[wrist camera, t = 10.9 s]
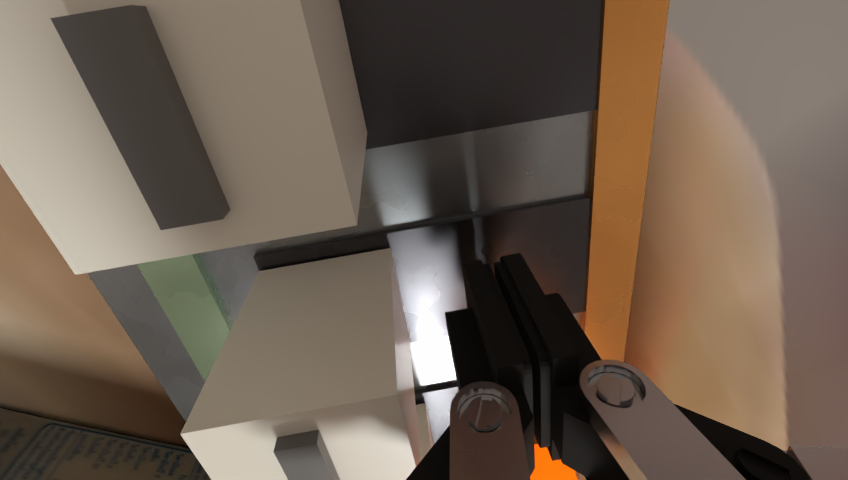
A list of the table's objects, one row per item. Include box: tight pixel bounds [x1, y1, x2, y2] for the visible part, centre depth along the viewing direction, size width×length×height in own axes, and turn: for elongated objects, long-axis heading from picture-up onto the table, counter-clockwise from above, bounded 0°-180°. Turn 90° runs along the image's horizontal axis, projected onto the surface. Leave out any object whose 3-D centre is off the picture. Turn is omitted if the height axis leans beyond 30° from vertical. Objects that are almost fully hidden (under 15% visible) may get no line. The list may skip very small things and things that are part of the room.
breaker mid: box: [180, 248, 421, 480], centre depth 10 cm, size 4×4×6 cm
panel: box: [88, 0, 670, 444], centre depth 14 cm, size 19×17×2 cm
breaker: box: [0, 0, 367, 275], centre depth 7 cm, size 4×4×6 cm
